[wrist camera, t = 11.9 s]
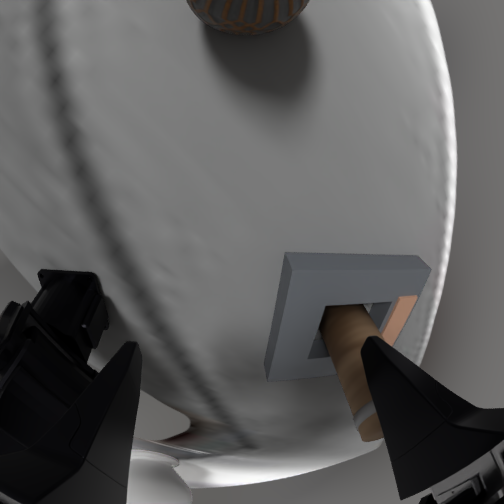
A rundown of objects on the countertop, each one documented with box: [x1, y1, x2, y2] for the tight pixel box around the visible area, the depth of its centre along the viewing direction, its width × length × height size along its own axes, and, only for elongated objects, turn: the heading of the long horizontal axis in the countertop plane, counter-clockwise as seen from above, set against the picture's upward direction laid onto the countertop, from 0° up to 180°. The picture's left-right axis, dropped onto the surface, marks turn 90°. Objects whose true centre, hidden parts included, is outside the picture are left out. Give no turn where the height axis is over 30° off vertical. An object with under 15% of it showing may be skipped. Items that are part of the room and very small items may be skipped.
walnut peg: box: [319, 304, 385, 442], centre depth 21 cm, size 5×5×13 cm
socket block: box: [264, 252, 432, 382], centre depth 25 cm, size 14×14×3 cm
